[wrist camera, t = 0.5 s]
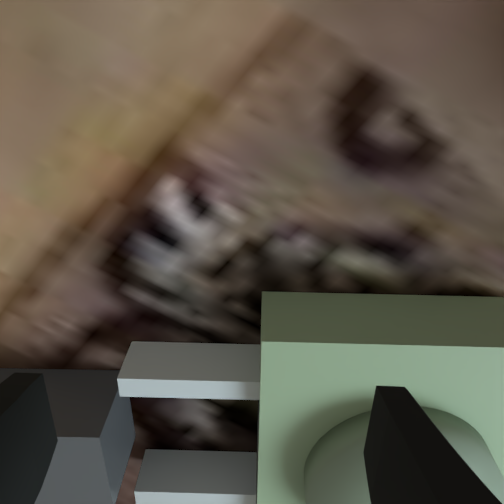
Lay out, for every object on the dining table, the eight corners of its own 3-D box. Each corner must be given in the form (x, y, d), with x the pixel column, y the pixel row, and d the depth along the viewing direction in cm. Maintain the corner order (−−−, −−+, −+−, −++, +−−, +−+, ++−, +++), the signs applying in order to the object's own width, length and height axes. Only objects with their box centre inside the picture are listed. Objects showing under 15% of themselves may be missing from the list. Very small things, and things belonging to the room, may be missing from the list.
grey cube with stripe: (136, 434, 25) (113, 510, 21) (5, 431, 25) (-41, 506, 21) (125, 368, 23) (98, 440, 19) (-16, 365, 23) (-72, 436, 19)
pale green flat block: (449, 505, 27) (486, 603, 22) (151, 496, 27) (129, 592, 23) (515, 297, 20) (585, 377, 16) (125, 288, 21) (86, 364, 16)
